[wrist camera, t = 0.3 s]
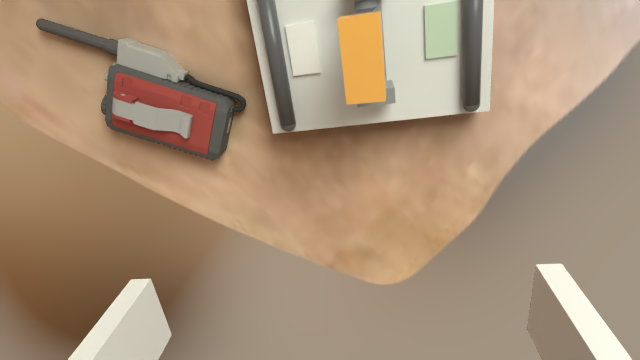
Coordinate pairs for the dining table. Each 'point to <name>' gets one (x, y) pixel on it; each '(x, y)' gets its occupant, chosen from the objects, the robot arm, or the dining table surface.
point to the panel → (400, 57)
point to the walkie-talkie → (159, 96)
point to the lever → (363, 53)
